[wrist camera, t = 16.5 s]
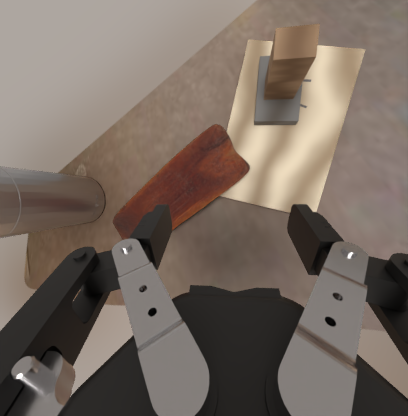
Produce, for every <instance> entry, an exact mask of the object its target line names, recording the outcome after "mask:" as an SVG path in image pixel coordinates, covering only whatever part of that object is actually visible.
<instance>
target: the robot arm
mask: <svg viewBox="0 0 408 416" xmlns="http://www.w3.org/2000/svg"><path fill="white" fill-rule="evenodd" d="M104 206H105V197H104V193H103V190H102V188H101V186H100V185H99V184H98V183H97V182H96V181H95V180H93V179H91V178H89V177H83V176H75V175H68V174H59V173H51V172H43V171H34V170H26V169H18V168H9V167H1V166H0V238H4V237H10V236H15V235H21V234H26V233H32V232H38V231H44V230H49V229H55V228H61V227H66V226H72V225H78V224H83V223H89V222H92V221H95V220H96V219H97V218H99V216H100V215H101V214H102V212H103V209H104ZM287 229H288V234H289V236H290V238H291V240H292V242H293V244H294V246H295V248H296V250H297V252H298V254H299V256H300V258H301V260H302V262H303V264H304V266H305V268H306V270H307V272H308V274H309V275H318V279H317V281H316V284H315V286H314V288H313V291H312V293H311V295H310V298H309V300H308V302H307V304H306V307H305V308H304V307H302V306H301V305H299V304H298V303H296V302H294V301H292V300H290V299H288V298H285V297H282V296H281V295H280V291H279V289H274V288H253V289H248V290H243V291H238V292H231V291H227V290H224V289H220V288H216V287H213V286H195V285H190V291H189V292H188V293H184V294H181V295H179V296H177V297H175V298H173V299H172V300H171V298H170V296H169V294H168V292H167V290H166V288H165V286H164V285H163V283H162V281H161V279H160V277H159V275H158V273H157V271H156V270H158V267H159V265H160V262H161V259H162V257H163V254H164V251H165V248H166V246H167V243H168V240H169V238H170V235H171V232H172V220H171V214H170V209H169V205H168V204H157V205H156V206H155V208H154V209H153V211H152V212H148V213H147V214H145V215H144V216H143V217H142V219H141V220H140V222H139V223H138V226H136V228H135V229H134V231H133V232H132V234H131V235H130V237H129V238H128V239H125V240H122V241H120V242H118V243H117V244H116V245H115V246H114V247H113V249H112V250H111V251H106V252H102V253H96V251H95V249H94V248H92V247H83V248H80V249H77V250H75V251H73V252H72V253H70V254H69V255H68V256H67V257H66V258H65V259H64V260H63V261H62V263H61V264H60V265H59V266H58V267H57V268H56V269H55V270H54V272H53V273H52V274H51V275H50V276H49V277H48V278H47V279H46V281H45V282H44V283H43V284H42V285H41V286H40V287H39V288H38V290H37V291H36V292H35V293H34V294H33V295H32V296H31V297H30V299H29V300H28V301H27V302H26V303H25V304H24V305H23V307H22V308H21V309H20V310H19V311H18V312H17V313H16V314H15V315H14V316H13V318H12V319H11V320H10V321H9V322H8V323H7V324H6V326H5V327H4V328H3V329H2V330H1V331H0V416H408V399H407V398H406V397H405V396H404V395H403V394H402V393H400V392H399V391H398V390H397V389H396V388H395V387H393V385H392V384H390V383H389V382H388V381H387V380H386V379H385V378H383V377H382V376H381V375H380V374H379V373H378V372H377V371H376V370H375V369H373V368H372V367H371V366H370V365H369V364H367V362H366V361H364V360H363V359H362V358H361V357H360V356H359V355H358V354H357V349H358V344H359V338H360V331H361V325H362V319H363V313H364V307H365V302H368V304H369V305H370V307H371V308H372V310H373V311H374V313H375V314H376V316H377V318H378V319H379V321H380V322H381V324H382V325H383V327H384V328H385V330H386V331H387V333H388V335H389V336H390V338H391V339H392V341H393V342H394V344H395V345H396V347H397V348H398V350H399V351H400V353H401V355H402V356H403V358H404V359H405V361H406V362H407V364H408V254H403V253H396V254H393V255H392V256H391V257H390V259H389V260H383V259H379V258H374V257H370V256H368V254H367V253H366V252H365V251H364V250H363V249H362V248H361V247H359V246H357V245H355V244H352V243H349V242H345V241H344V240H343V239H342V238H341V237H340V236H339V234H338V233H337V232H336V231H335V230H334V229H333V228H332V226H331V225H330V224H329V223H328V222H327V220H326V219H325V218H324V217H323V216H322V215H320V214H318V213H317V212H313V211H312V210H311V209H310V207H309V206H308V205H307V204H293V205H292V207H291V212H290V216H289V220H288V226H287ZM80 289H81V291H80V292H79V294H78V295H77V297H76V298H75V300H74V301H73V299H74V297H75V296H76V294H77V293H78V291H79V290H80ZM117 289H121V291H122V295H123V298H124V302H125V306H126V309H127V313H128V316H129V320H130V323H131V327H132V330H133V334H134V335H133V336H132V337H131V338H130V339H129V340H128V341H127V342H126V343H125V344H124V345H123V346H122V347H121V348H120V349H119V350H118V351H117V352H115V353H114V354H113V355H112V356H111V357H110V358H109V359H108V360H107V361H106V362H105V363H104V364H103V365H102V366H101V367H100V368H99V369H98V370H97V371H96V372H95V373H94V374H93V375H91V376H90V377H89V378H88V379H87V380H86V381H85V382H84V383H83V384H82V385H81V386H80V387H79V388H78V389H77V390H76V391H75V393H74V394H72V396H71V393H72V387H73V384H74V381H75V370H74V368H73V365H74V363H75V361H76V359H77V357H78V355H79V353H80V351H81V349H82V347H83V345H84V343H85V341H86V339H87V337H88V335H89V333H90V331H91V329H92V327H93V325H94V323H95V321H96V319H97V317H98V315H99V313H100V311H101V309H102V307H103V306H104V304H105V302H106V300H107V298H108V296H109V294H110V292H111V291H114V290H117ZM70 396H71V397H70Z"/></svg>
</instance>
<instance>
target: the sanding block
mask: <svg viewBox="0 0 408 416" xmlns="http://www.w3.org/2000/svg"><path fill="white" fill-rule="evenodd" d="M319 26H320V24H313V25H303V26H293V27H283V28H276V31H275V36H274V40H273V45H272V50H271V54H270V56H260V60H259V69H258V81H257V93H256V106H255V118H254V125H296V124H297V122H298V121H299V112H300V102H301V92H302V82H303V80H304V78H305V76H306V75H307V73H308V71H309V69H310V67H311V65H312V64H313V62H314V60H315V58H316V54H317V45H318V35H319Z"/></svg>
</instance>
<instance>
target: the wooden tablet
mask: <svg viewBox="0 0 408 416" xmlns="http://www.w3.org/2000/svg"><path fill="white" fill-rule="evenodd" d="M249 170H250V165H249V164H248V163H247V162H246V161H245V160H244V159H243V158H242V157H241V156H240V155H239V154H238V153H237V152H236V151H235V149H234V147H233V144H232V141H231V139H230V137H229V135H228V134H227V132H226V130H225V129H224V128H223V127H222V126H221V125H217V124H215V125H213V126H211V127H210V128H208V129H207V130H206V131H204V132H203V133H202V134H200V135H199V136H198V137H196V138H195V139H194V140H193V141H192V142H191V143H190V144H188V145H187V146H186V147H185V148H184V149H183V150H181V151H180V152H179V153H178V154H177V155H176V156H175V157H174V158H173V159H171V160H170V161H169V162H168V163H167V164H166V165H165V166H164V167H163V168H162V169H161V170H160V171H159V172H158V173H157V174H156V175H155V176H154V177H153V178H152V179H151V180H150V181H149V182H148V183H147V184H146V185H145V186H144V187H143V188H142V189H141V190H140V191H139V192H138V193H137V194H136V195H135V196H134V197H133V198H132V199H131V200H130V201H129V202H128V203H127V204H126V206H124V207H123V208H122V209H121V210H120V211H119V212H118V213H117V215H116V216H115V217H114V219H113V224H114V225H115V228H116V229H117V230H118V232H119V234H120V236H121V237H122V239H123V240H125V239H128V238H129V237H130V235H131V234H132V232H133V231H134V229H135V228H136V226H138V223H139V222H140V220H141V219H142V217H143V216H144V215H145V214H147V213H148V212H152V211H153V209H154V208H155V206H156V205H157V204H168V205H169V209H170V214H171V220H172V230H173V229H174V228H176V227H177V226H178V225H180V224H181V223H182V222H184V221H185V220H187V219H188V218H190V217H191V216H192V215H194V214H195V213H196V212H198V211H199V210H201V209H202V208H203V207H205V206H206V205H207V204H209V203H210V202H211V201H213V200H214V199H215V198H217V197H218V196H220V195H221V194H222V193H224V192H225V191H226V190H228V189H229V188H230V187H232V186H233V185H235V184H236V183H237V182H238V181H240V180H241V179H242V178H243V177H244V176H245V175H246V174H247V173H248V172H249Z"/></svg>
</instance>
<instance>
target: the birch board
mask: <svg viewBox="0 0 408 416" xmlns="http://www.w3.org/2000/svg"><path fill="white" fill-rule="evenodd" d="M272 45H273V42H272V41H260V40H248V44H247V48H246V52H245V57H244V61H243V65H242V69H241V74H240V78H239V82H238V86H237V91H236V95H235V99H234V103H233V108H232V112H231V116H230V120H229V125H228V129H227V134H228V135H229V137H230V139H231V141H232V144H233V147H234V149H235V151H236V152H237V153H238V154H239V155H240V156H241V157H242V158H243V159H244V160H245V161H246V162H247V163H248V164H249V165H250V170H249V172H248V173H247V174H246V175H245V176H244V177H243V178H242V179H241V180H240V181H238V182H237V183H236V184H235V185H233V186H232V187H230V188H229V189H228V190H226V191H225V192H224V193H222V194H221V195H220V196H221V197H226V198H230V199H234V200H238V201H242V202H247V203H251V204H255V205H259V206H263V207H268V208H272V209H276V210H280V211H285V212H289V213H290V212H291V207H292V205H293V204H307V205H308V206H309V207H310V209H311V210H312V211H313V212H316V211H317V208H318V205H319V201H320V198H321V195H322V191H323V188H324V185H325V182H326V178H327V175H328V172H329V168H330V165H331V162H332V158H333V155H334V152H335V148H336V145H337V142H338V138H339V135H340V132H341V129H342V125H343V122H344V119H345V115H346V112H347V109H348V105H349V102H350V99H351V95H352V92H353V89H354V86H355V82H356V79H357V76H358V72H359V69H360V66H361V62H362V59H363V56H364V52H365V49H355V48H343V47H331V46H320V45H317V54H316V58H315V60H314V62H313V64H312V65H311V67H310V69H309V71H308V73H307V75H306V76H305V78H304V80H303V82H302V92H301V102H300V112H299V121H298V122H297V124H296V125H254V118H255V106H256V93H257V81H258V69H259V60H260V56H270V54H271V50H272Z"/></svg>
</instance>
